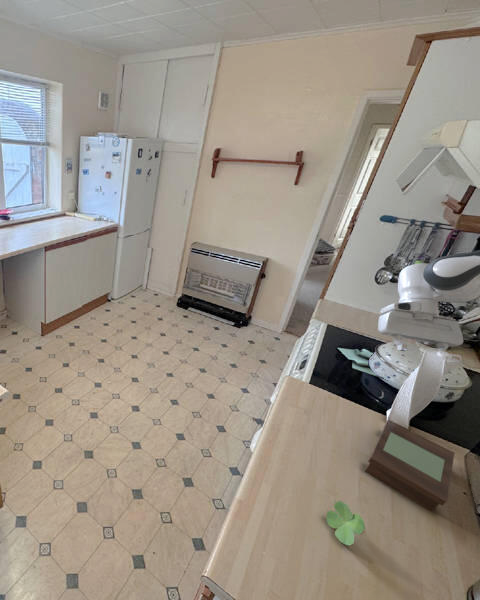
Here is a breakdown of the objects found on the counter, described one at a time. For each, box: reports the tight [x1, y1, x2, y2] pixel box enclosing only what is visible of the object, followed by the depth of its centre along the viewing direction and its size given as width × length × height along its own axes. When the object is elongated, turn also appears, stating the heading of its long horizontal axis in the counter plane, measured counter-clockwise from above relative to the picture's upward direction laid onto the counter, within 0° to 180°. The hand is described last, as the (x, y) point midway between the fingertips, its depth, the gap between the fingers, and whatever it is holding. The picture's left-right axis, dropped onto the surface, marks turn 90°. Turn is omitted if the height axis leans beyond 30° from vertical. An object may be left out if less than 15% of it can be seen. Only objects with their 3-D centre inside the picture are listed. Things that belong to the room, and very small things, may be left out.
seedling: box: [326, 500, 366, 546], centre depth 71 cm, size 7×8×7 cm
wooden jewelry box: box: [364, 420, 455, 512], centre depth 86 cm, size 22×14×5 cm, turn 129°
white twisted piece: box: [385, 347, 463, 430], centre depth 96 cm, size 8×8×28 cm
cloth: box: [337, 347, 379, 378], centre depth 130 cm, size 20×22×2 cm
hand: (420, 353), depth 98 cm, fingers open, 8 cm apart
